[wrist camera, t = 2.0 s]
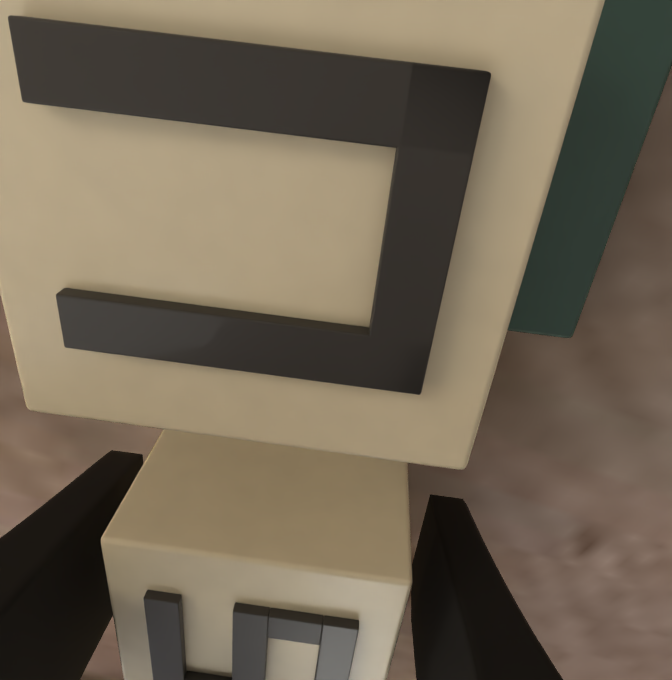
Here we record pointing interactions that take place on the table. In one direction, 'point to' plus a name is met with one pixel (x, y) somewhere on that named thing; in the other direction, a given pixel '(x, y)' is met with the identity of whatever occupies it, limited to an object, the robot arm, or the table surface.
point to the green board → (595, 163)
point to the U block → (278, 209)
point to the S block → (258, 562)
